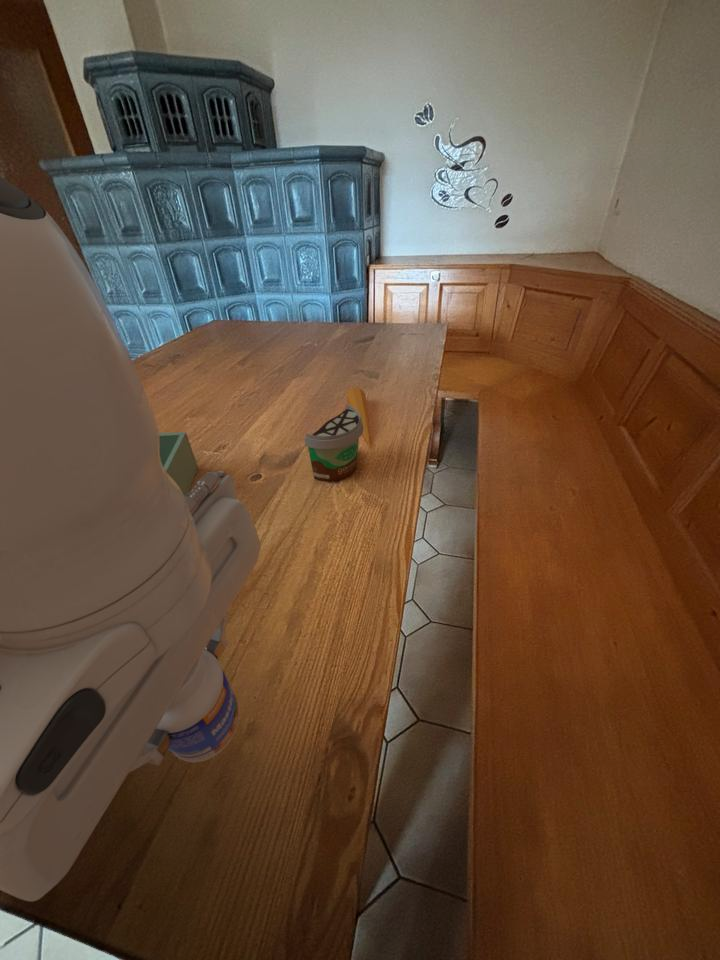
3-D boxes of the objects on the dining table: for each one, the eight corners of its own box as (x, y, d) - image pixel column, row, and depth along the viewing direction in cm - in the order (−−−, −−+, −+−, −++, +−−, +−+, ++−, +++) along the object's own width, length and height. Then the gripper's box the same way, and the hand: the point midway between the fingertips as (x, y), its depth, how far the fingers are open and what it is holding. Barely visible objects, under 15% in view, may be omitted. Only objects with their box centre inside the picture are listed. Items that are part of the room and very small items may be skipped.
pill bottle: (237, 757, 29) (206, 705, 23) (161, 771, 28) (108, 721, 22) (242, 682, 33) (217, 621, 27) (176, 693, 32) (135, 632, 26)
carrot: (349, 403, 90) (341, 388, 87) (367, 396, 89) (360, 380, 86) (364, 461, 76) (355, 445, 73) (385, 452, 75) (377, 436, 72)
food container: (337, 496, 64) (335, 447, 58) (308, 483, 67) (303, 434, 60) (375, 459, 72) (377, 412, 66) (348, 448, 75) (347, 402, 68)
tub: (177, 521, 60) (160, 483, 55) (86, 526, 59) (61, 488, 54) (198, 467, 70) (185, 431, 65) (122, 471, 69) (103, 435, 64)
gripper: (184, 448, 27) (225, 571, 36) (-233, 821, 12) (20, 875, 20) (266, 464, 25) (288, 587, 34) (-80, 906, 10) (120, 924, 19)
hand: (187, 696), depth 27 cm, fingers closed on pill bottle, 5 cm apart
